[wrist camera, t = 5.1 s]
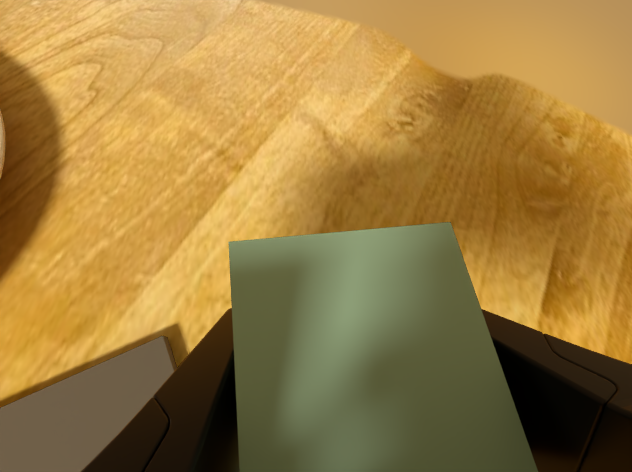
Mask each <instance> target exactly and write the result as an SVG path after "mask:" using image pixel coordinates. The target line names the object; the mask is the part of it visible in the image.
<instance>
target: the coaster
mask: <svg viewBox="0 0 632 472" xmlns="http://www.w3.org/2000/svg"><path fill="white" fill-rule="evenodd" d="M176 369H177V366H176V363H175V360H174V357H173V354H172V351H171V347H170V344H169V341H168V338H167V337H165V336H161V337H159V338H156V339H154V340H152V341H150V342H147V343H145V344H143V345H141V346H138V347H136V348H134V349H132V350H129V351H127V352H125V353H123V354H120V355H118V356H116V357H114V358H111V359H109V360H107V361H105V362H102V363H100V364H98V365H96V366H93V367H91V368H89V369H87V370H84V371H82V372H80V373H78V374H75V375H73V376H71V377H69V378H66V379H64V380H62V381H60V382H57V383H55V384H53V385H51V386H48V387H46V388H44V389H42V390H39V391H37V392H35V393H33V394H30V395H28V396H26V397H24V398H21V399H19V400H17V401H15V402H12V403H10V404H8V405H6V406H3V407H1V408H0V472H80V471H81V470H82V469H83V468H85V467H86V466H87V465H88V464H89V463H90V462H91V461H92V460H93V459H94V458H95V457H96V456H97V455H98V454H99V453H100V452H101V451H102V450H103V449H104V448H105V447H106V446H107V445H108V444H109V443H110V442H111V441H112V440H113V439H114V438H115V437H116V436H117V435H118V434H119V433H120V432H121V431H122V429H123V428H124V427H125V426H126V425H127V424H128V423H129V422H130V421H131V420H132V419H133V417H134V416H135V415H136V414H137V413H138V412H139V411H140V410H141V409H142V407H143V406H144V405H145V404H146V403H147V402H148V401H149V399H150V398H152V397H153V395H154V394H155V393H156V392H157V390H158V389H159V388H160V387H161V386H162V385H163V384H164V382H165V381H166V380H167V379H168V378H169V377H170V376H171V374H172V373H173V372H174V371H175V370H176Z"/></svg>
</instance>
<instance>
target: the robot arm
mask: <svg viewBox="0 0 632 472" xmlns="http://www.w3.org/2000/svg"><path fill="white" fill-rule="evenodd" d="M481 310H482V309H481ZM482 313H483V316H484V319H485V322H486V324H487V327H488V330H489V333H490V336H491V339H492V342H493V344H494V347H495V350H496V353H497V356H498V359H499V362H500V364H501V367H502V370H503V373H504V376H505V379H506V382H507V384H508V387H509V390H510V393H511V396H512V399H513V401H514V404H515V407H516V410H517V413H518V416H519V419H520V421H521V424H522V427H523V430H524V433H525V436H526V439H527V441H528V444H529V447H530V450H531V453H532V456H533V459H534V461H535V464H536V467H537V470H538V472H632V364H629V363H626V362H623V361H620V360H617V359H614V358H611V357H608V356H605V355H602V354H600V353H597V352H594V351H591V350H588V349H585V348H582V347H580V346H577V345H574V344H572V343H569V342H566V341H564V340H561V339H558V338H556V337H553V336H550V335H548V334H543V333H542V332H540V331H537V330H535V329H532V328H529V327H527V326H524V325H522V324H519V323H516V322H514V321H511V320H509V319H506V318H503V317H501V316H498V315H496V314H493V313H490V312H488V311H485V310H482ZM80 472H240V468H239V447H238V426H237V405H236V384H235V364H234V343H233V322H232V308H230V309H228V310H227V311H226V312H225V314H224V315H223V316H222V317H221V318H220V319H219V320H218V322H217V323H216V324H215V325H214V326H213V327H212V329H211V330H210V331H209V332H208V333H207V334H206V335H205V337H204V338H203V339H202V340H201V341H200V342H199V343H198V345H197V346H196V347H195V348H194V349H193V350H192V351H191V353H190V354H189V355H188V356H187V357H186V358H185V359H184V361H183V362H182V363H181V364H180V365H179V366H178V367H177V369H176V370H175V371H174V372H173V373H172V374H171V376H170V377H169V378H168V379H167V380H166V381H165V382H164V384H163V385H162V386H161V387H160V388H159V389H158V390H157V392H156V393H155V394H154V395H153V397H152V398H150V399H149V401H148V402H147V403H146V404H145V405H144V406H143V407H142V409H141V410H140V411H139V412H138V413H137V414H136V415H135V416H134V417H133V419H132V420H131V421H130V422H129V423H128V424H127V425H126V426H125V427H124V428H123V429H122V431H121V432H120V433H119V434H118V435H117V436H116V437H115V438H114V439H113V440H112V441H111V442H110V443H109V444H108V445H107V446H106V447H105V448H104V449H103V450H102V451H101V452H100V453H99V454H98V455H97V456H96V457H95V458H94V459H93V460H92V461H91V462H90V463H89V464H88V465H87V466H86V467H85V468H83V469H82V470H81V471H80Z"/></svg>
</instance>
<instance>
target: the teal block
mask: <svg viewBox="0 0 632 472" xmlns="http://www.w3.org/2000/svg"><path fill="white" fill-rule="evenodd" d="M229 259H230V280H231V301H232V322H233V343H234V364H235V384H236V405H237V426H238V447H239V468H240V472H538V470H537V467H536V464H535V461H534V459H533V456H532V453H531V450H530V447H529V444H528V441H527V439H526V436H525V433H524V430H523V427H522V424H521V421H520V419H519V416H518V413H517V410H516V407H515V404H514V401H513V399H512V396H511V393H510V390H509V387H508V384H507V382H506V379H505V376H504V373H503V370H502V367H501V364H500V362H499V359H498V356H497V353H496V350H495V347H494V344H493V342H492V339H491V336H490V333H489V330H488V327H487V324H486V322H485V319H484V316H483V313H482V310H481V307H480V304H479V302H478V299H477V296H476V293H475V290H474V287H473V284H472V282H471V279H470V276H469V273H468V270H467V267H466V264H465V262H464V259H463V256H462V253H461V250H460V247H459V245H458V242H457V239H456V236H455V233H454V230H453V227H452V225H451V222H445V223H434V224H423V225H411V226H400V227H389V228H378V229H367V230H356V231H344V232H333V233H322V234H311V235H300V236H289V237H277V238H266V239H255V240H244V241H233V242H229Z"/></svg>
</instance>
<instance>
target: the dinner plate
mask: <svg viewBox="0 0 632 472" xmlns="http://www.w3.org/2000/svg"><path fill="white" fill-rule="evenodd" d="M4 159H5V128H4V122H3V116H2V113H1V110H0V179H1V175H2V170H3V165H4Z"/></svg>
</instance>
